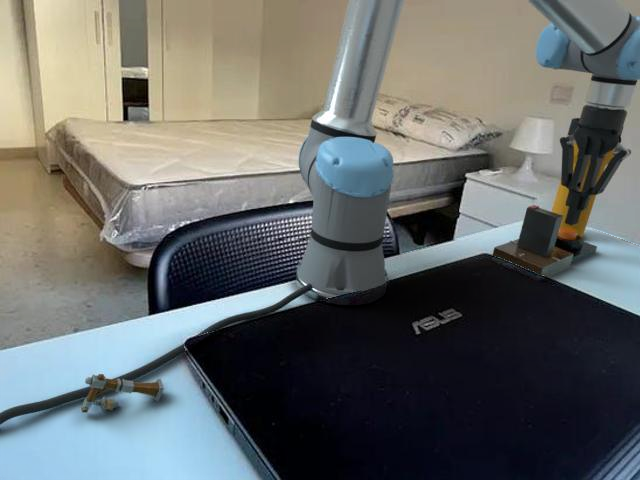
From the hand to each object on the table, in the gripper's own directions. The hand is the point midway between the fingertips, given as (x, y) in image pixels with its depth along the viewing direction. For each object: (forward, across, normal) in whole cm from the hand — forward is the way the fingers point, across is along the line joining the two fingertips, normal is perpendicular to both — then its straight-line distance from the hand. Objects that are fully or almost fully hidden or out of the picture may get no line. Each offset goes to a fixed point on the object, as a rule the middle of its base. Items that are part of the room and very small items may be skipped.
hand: (571, 222), depth 103 cm
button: (+3, 0, 0) cm, 3 cm away
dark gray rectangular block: (+3, 0, +13) cm, 14 cm away
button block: (+6, 0, 0) cm, 6 cm away
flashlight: (+7, +5, -11) cm, 14 cm away
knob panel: (+6, 0, +13) cm, 15 cm away
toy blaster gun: (+6, +4, +90) cm, 90 cm away
